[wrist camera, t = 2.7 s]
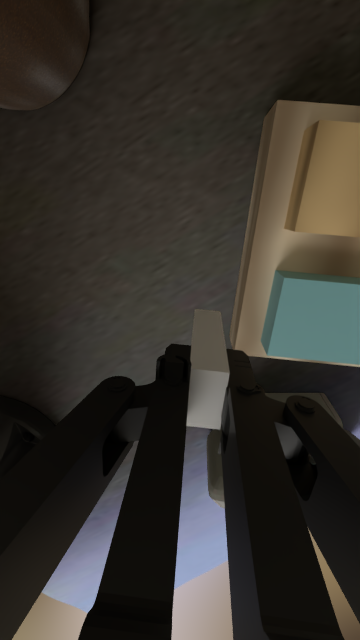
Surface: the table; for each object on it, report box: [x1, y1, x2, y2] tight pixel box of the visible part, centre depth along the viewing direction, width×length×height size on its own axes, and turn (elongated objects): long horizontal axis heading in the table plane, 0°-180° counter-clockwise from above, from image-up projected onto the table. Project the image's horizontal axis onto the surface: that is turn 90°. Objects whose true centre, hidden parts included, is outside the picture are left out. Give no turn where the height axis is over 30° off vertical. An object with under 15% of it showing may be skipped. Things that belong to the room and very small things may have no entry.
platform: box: [229, 100, 360, 367], centre depth 23 cm, size 13×18×4 cm
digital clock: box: [207, 393, 360, 508], centre depth 27 cm, size 16×9×11 cm, turn 81°
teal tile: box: [261, 270, 360, 365], centre depth 21 cm, size 9×6×2 cm, turn 85°
